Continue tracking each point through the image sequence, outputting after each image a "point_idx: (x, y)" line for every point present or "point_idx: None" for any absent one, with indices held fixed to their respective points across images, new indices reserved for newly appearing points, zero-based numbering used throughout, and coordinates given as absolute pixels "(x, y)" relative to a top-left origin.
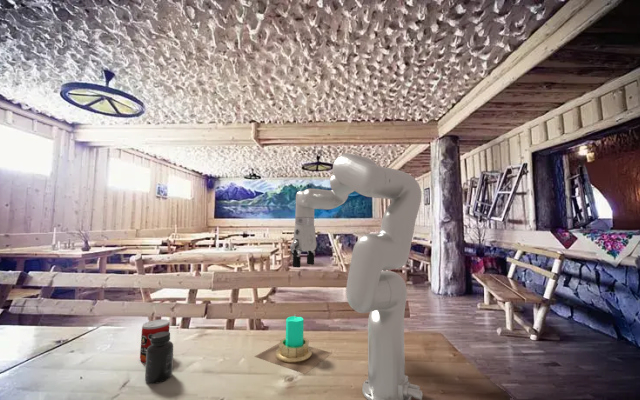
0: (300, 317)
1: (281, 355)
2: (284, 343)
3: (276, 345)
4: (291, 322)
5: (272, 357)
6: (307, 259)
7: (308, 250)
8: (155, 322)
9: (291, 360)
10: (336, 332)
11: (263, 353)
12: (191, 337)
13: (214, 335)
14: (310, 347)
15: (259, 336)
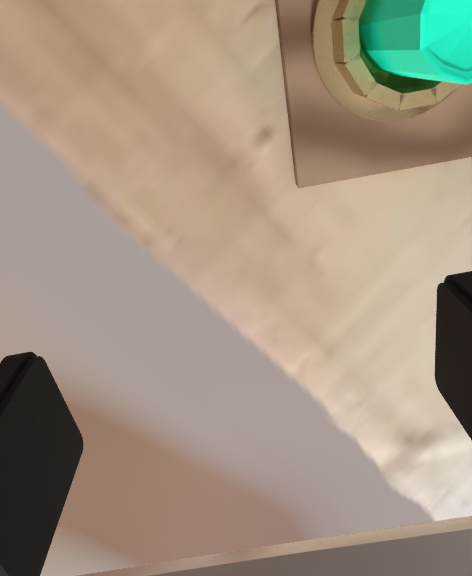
0: (427, 14)
1: None
2: (417, 88)
3: (368, 169)
4: None
5: (469, 85)
6: (58, 499)
7: (345, 542)
8: None
9: None
10: (9, 95)
11: (458, 147)
12: (452, 443)
13: (400, 416)
14: (287, 25)
15: (309, 313)
